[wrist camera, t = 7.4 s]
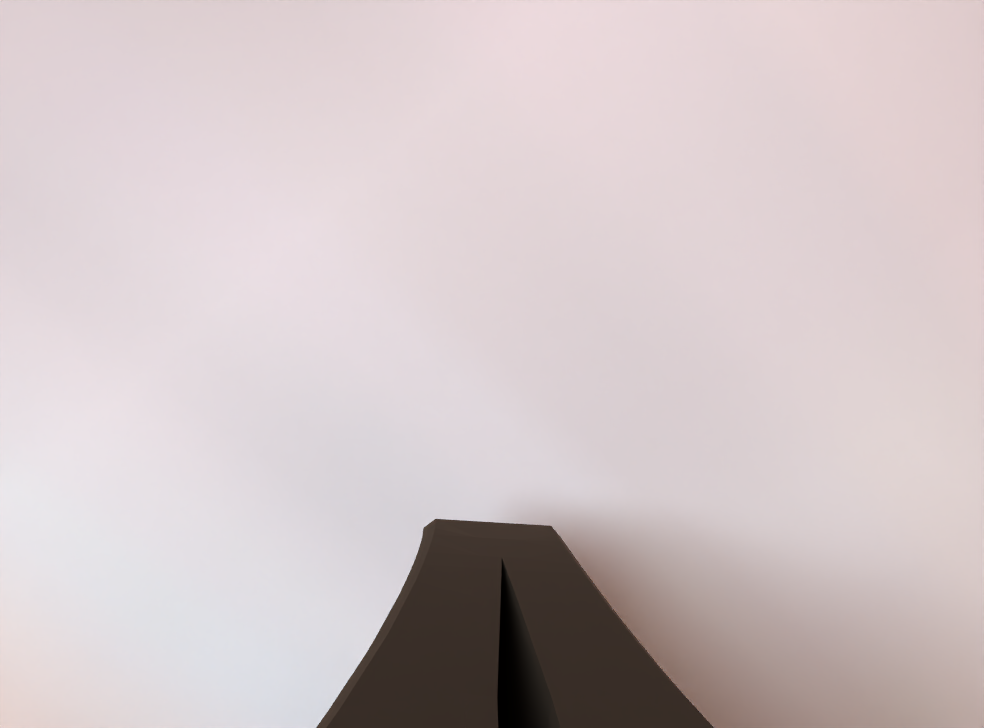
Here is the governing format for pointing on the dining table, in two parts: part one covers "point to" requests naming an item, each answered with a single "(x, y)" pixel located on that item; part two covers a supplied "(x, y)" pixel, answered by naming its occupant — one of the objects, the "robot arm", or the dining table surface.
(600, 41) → the dining table surface
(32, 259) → the dining table surface
